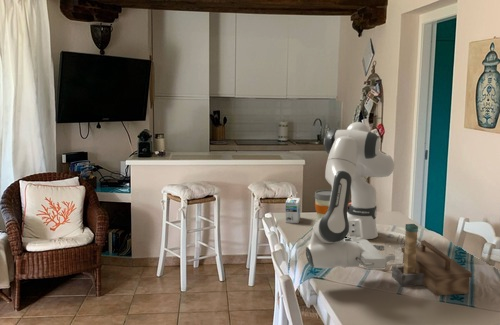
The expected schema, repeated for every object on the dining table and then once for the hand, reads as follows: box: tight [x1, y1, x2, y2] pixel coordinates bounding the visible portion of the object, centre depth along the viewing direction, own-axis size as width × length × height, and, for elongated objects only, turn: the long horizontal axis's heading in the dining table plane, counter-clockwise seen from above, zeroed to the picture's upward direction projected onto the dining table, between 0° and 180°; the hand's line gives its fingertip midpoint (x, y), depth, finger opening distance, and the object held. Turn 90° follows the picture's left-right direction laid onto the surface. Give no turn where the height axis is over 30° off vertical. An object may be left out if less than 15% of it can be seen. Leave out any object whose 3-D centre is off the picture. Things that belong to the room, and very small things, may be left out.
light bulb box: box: [285, 196, 301, 224], centre depth 255 cm, size 11×7×11 cm, turn 168°
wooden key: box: [403, 223, 419, 274], centre depth 180 cm, size 4×4×21 cm
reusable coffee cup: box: [314, 189, 332, 221], centre depth 253 cm, size 13×12×15 cm
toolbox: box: [391, 240, 473, 296], centre depth 181 cm, size 21×27×12 cm
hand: (388, 252), depth 179 cm, fingers open, 8 cm apart
